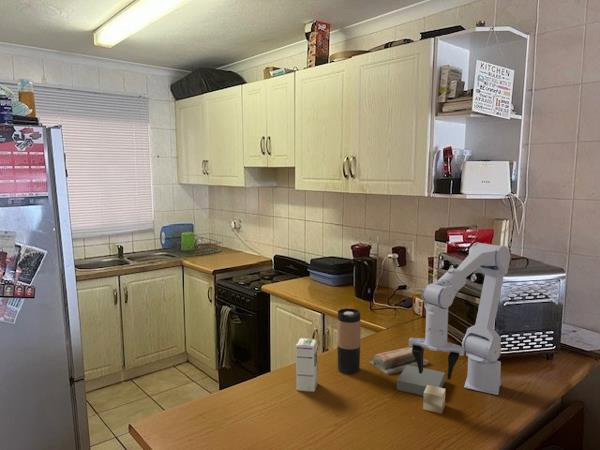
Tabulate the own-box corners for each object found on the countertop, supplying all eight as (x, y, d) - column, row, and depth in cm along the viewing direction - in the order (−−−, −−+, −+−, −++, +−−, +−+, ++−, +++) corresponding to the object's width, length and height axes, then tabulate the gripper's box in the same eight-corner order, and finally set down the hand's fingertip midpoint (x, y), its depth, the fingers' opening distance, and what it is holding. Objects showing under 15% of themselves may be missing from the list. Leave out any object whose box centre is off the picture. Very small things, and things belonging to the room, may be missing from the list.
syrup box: (314, 392, 129) (314, 345, 128) (295, 390, 131) (295, 344, 129) (317, 383, 135) (317, 338, 133) (299, 381, 136) (299, 337, 135)
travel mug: (345, 362, 150) (345, 306, 148) (364, 368, 145) (365, 311, 143) (332, 370, 144) (332, 312, 142) (352, 377, 139) (352, 317, 137)
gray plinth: (444, 381, 136) (445, 372, 135) (437, 398, 125) (437, 389, 125) (406, 373, 141) (406, 364, 141) (396, 389, 131) (396, 380, 130)
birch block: (444, 405, 122) (445, 388, 121) (441, 414, 117) (442, 396, 117) (426, 401, 124) (427, 384, 124) (423, 409, 120) (423, 392, 119)
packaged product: (387, 362, 140) (369, 351, 149) (387, 376, 140) (369, 365, 149) (429, 351, 148) (409, 342, 157) (429, 365, 148) (409, 354, 157)
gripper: (406, 328, 118) (405, 375, 120) (462, 337, 111) (460, 387, 113) (412, 320, 124) (411, 365, 126) (466, 328, 118) (464, 376, 119)
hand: (435, 375), depth 120 cm, fingers open, 7 cm apart
